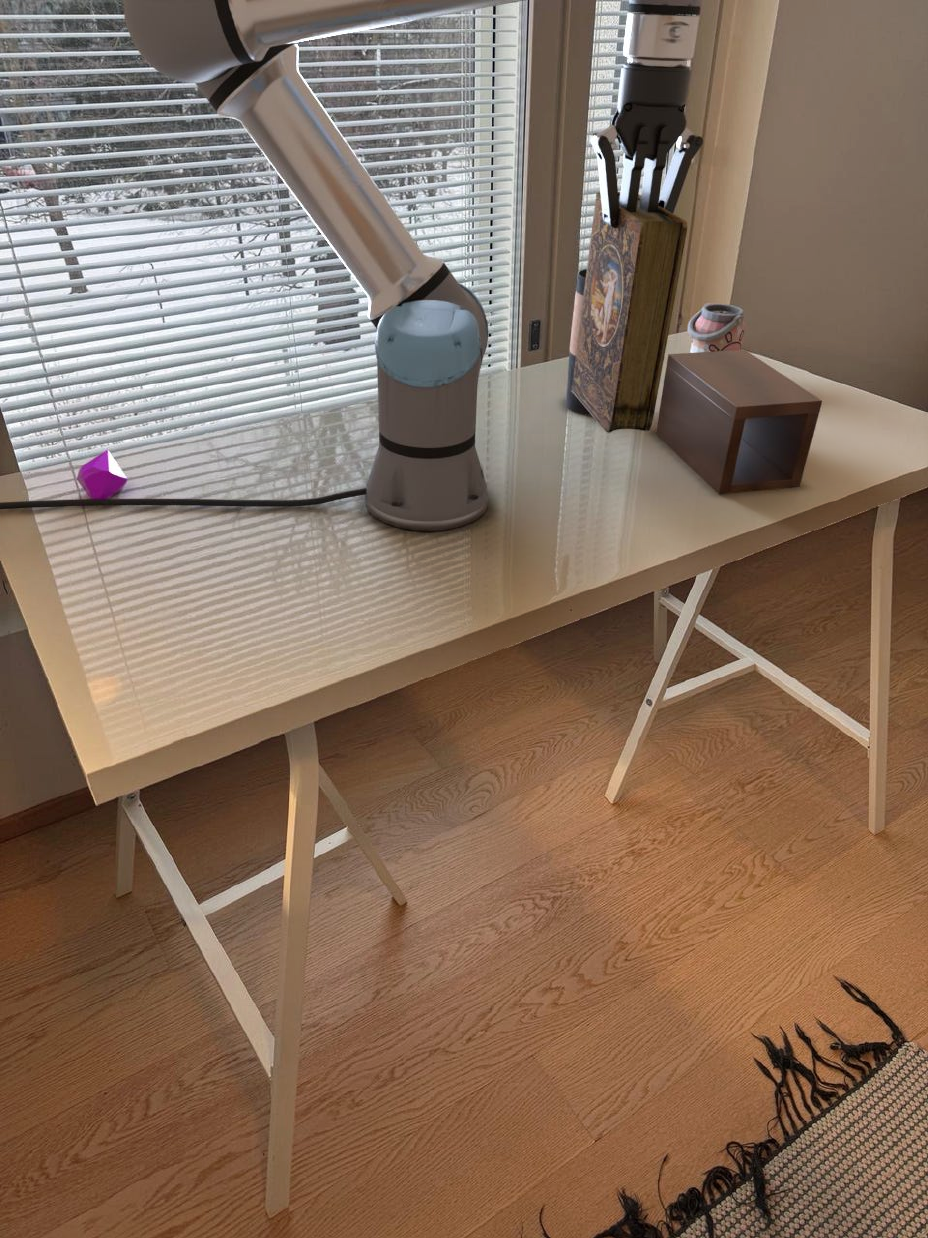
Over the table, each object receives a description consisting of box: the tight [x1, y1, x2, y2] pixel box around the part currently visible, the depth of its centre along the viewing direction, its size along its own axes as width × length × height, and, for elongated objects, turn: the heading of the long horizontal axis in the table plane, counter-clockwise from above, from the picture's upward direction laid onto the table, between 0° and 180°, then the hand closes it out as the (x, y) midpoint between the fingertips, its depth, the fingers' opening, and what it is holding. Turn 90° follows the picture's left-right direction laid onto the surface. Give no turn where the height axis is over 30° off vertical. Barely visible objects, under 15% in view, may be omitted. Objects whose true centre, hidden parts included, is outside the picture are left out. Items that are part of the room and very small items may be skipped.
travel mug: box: [565, 268, 592, 416], centre depth 139 cm, size 8×8×20 cm
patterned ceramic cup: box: [687, 302, 746, 353], centre depth 152 cm, size 9×8×12 cm
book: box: [571, 191, 688, 434], centre depth 114 cm, size 16×6×25 cm, turn 13°
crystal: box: [76, 449, 128, 507], centre depth 114 cm, size 5×5×5 cm
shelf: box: [655, 349, 823, 495], centre depth 126 cm, size 12×20×12 cm, turn 14°
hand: (627, 287), depth 112 cm, fingers closed
